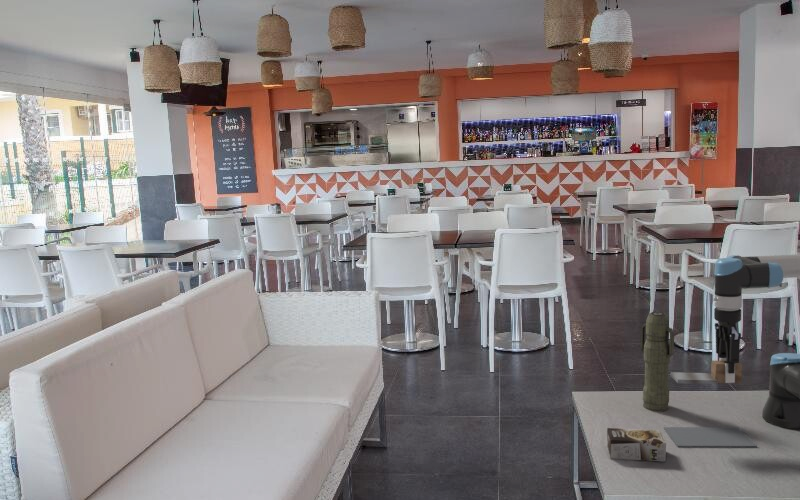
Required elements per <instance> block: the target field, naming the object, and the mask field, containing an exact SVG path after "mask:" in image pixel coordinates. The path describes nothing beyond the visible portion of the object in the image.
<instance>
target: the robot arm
mask: <svg viewBox="0 0 800 500" xmlns="http://www.w3.org/2000/svg"><path fill="white" fill-rule="evenodd" d="M714 263H715V264H714V273H713V275H714V297H713V302H714V307H715V308H714V311H713V315H714V317H713V318H714V320H715V321H717V322H715V323H714V330H715V353H716V354H718V355H717V357H718V358H719V360H718V361H724V363H725V383H726V384H736V383H735V363H739V362H740V346H741V345H740V344H741V343H740V342H741V337H742V333H741V332H737V330H738V329H737V323H739V322H741V321H742V309H741V308H742V302H743V301H742V299H743V297H742V296H743V295H742V292H743V289H760V288H761V289H762V288H767V289H769V288H775V287H779V286H781V284H782V283H783V281H784V279H787V278H788V279H790V278H792V279H793V278H800V253H799V254H781V255H780V254H779V255H777V254H774V255H759V256H755V255H754V256H741V255H739V254H738V255H733V254H732V255H729V256H727V257H721V258H718V259H717V260H716V261H715V262H714ZM769 367H770V368H769V369H770V370H769V389H768V390H769V391H768V397H767V399H766V402H765V403H764V406H763V408H762V410H761V412H762V414H761V415H762V419H763V420H764V421H766V422H767V423H770V424H771V425H774V426H778V427H781V428H786V429H792V430H793V429H794V430H800V353H791V352H790V353H789V352H782V353H781V352H780V353H775V354H773V355H772V356H771V357H770V364H769ZM725 383H724V384H725Z"/></svg>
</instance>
